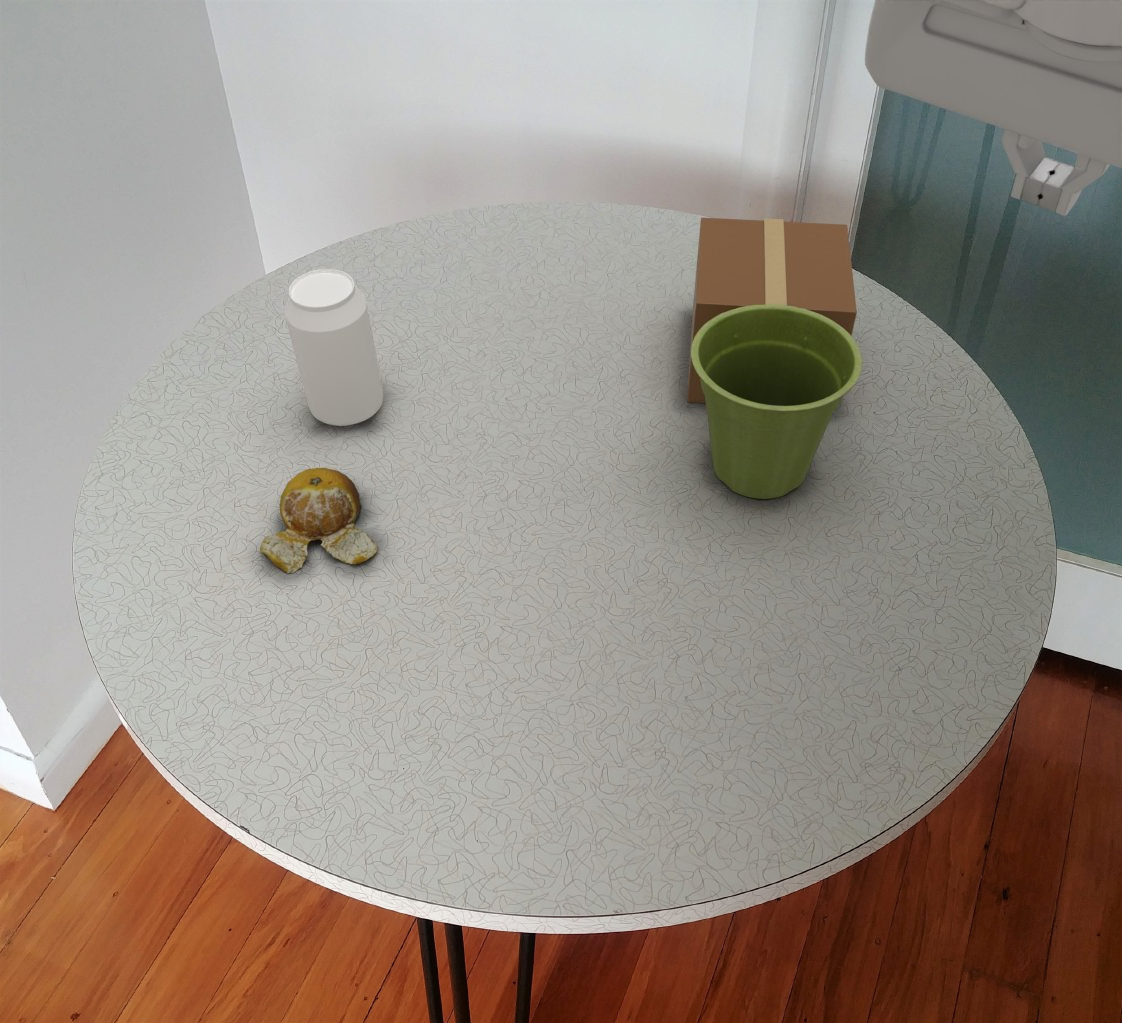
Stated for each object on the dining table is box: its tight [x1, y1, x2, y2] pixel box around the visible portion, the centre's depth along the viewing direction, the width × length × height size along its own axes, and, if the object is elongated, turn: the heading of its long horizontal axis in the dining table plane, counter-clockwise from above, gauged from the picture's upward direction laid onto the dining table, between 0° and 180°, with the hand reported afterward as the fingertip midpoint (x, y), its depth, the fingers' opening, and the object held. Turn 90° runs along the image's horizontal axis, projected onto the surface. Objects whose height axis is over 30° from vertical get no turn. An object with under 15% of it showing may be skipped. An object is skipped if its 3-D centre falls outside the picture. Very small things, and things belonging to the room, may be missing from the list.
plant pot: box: [691, 304, 863, 500], centre depth 78 cm, size 12×12×11 cm
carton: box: [686, 217, 858, 404], centre depth 87 cm, size 12×12×10 cm
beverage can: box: [284, 268, 384, 427], centre depth 84 cm, size 6×6×12 cm
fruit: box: [260, 467, 378, 574], centre depth 78 cm, size 8×8×4 cm
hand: (1043, 199), depth 55 cm, fingers closed
